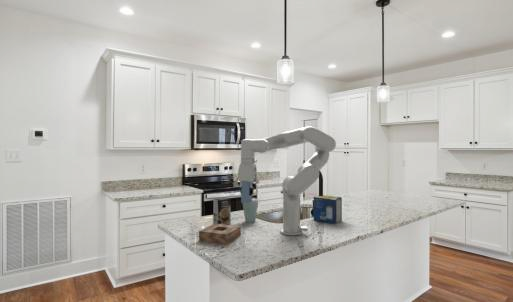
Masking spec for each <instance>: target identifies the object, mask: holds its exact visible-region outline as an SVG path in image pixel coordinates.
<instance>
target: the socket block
mask: <svg viewBox="0 0 513 302" xmlns="http://www.w3.org/2000/svg"><path fill="white" fill-rule="evenodd" d="M241 228H242V227H241V226H240V225H232V224H230V225H224V224H213V223H212V224H211V225H208V226H206V227H204V228H203V229H200V230H199V231H198V241H199V242H205V243H212V244H220V245H226V246H227V245H229V244H230V243H232V242H234V241H235V240H236V239H238V238H239V237H241V233H242V232H241V231H242V229H241Z"/></svg>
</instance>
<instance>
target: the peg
mask: <svg viewBox="0 0 513 302" xmlns="http://www.w3.org/2000/svg"><path fill="white" fill-rule="evenodd" d="M249 192H250V182H249V181H242V189H241V193H240V195H241V197H240V199H241V200H240V202H241V204H243V203H251V202H252V198H253V195H251V196H250V195H249Z"/></svg>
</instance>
